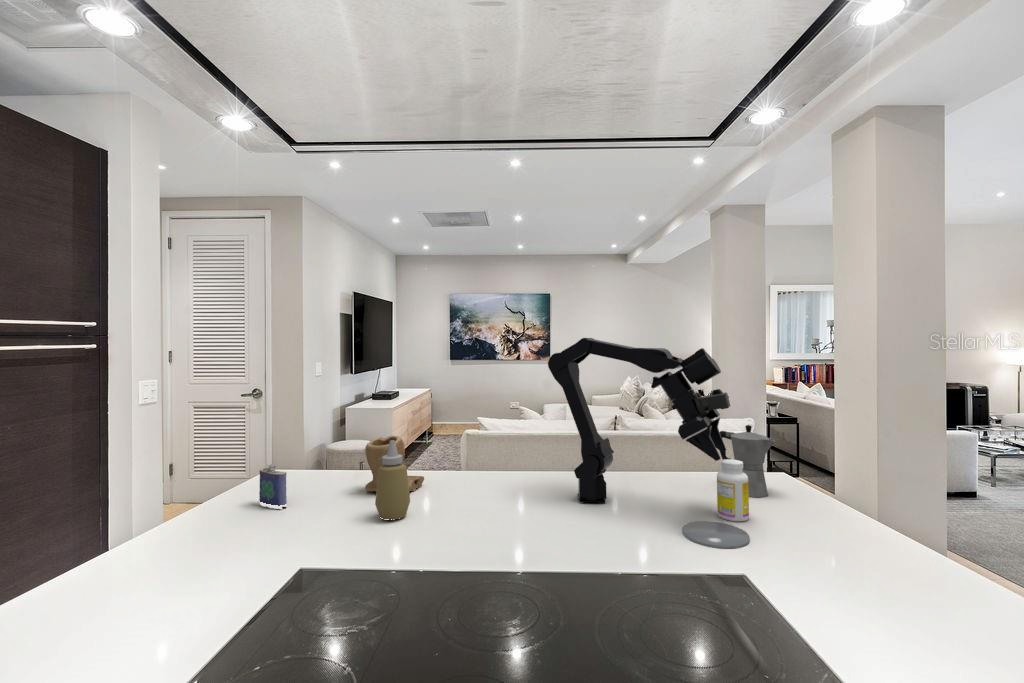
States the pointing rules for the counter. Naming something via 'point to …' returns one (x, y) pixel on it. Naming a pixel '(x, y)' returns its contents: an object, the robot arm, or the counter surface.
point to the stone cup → (374, 459)
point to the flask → (272, 486)
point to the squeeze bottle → (392, 486)
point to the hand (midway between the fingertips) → (721, 455)
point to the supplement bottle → (732, 491)
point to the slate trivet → (715, 534)
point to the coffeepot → (750, 457)
